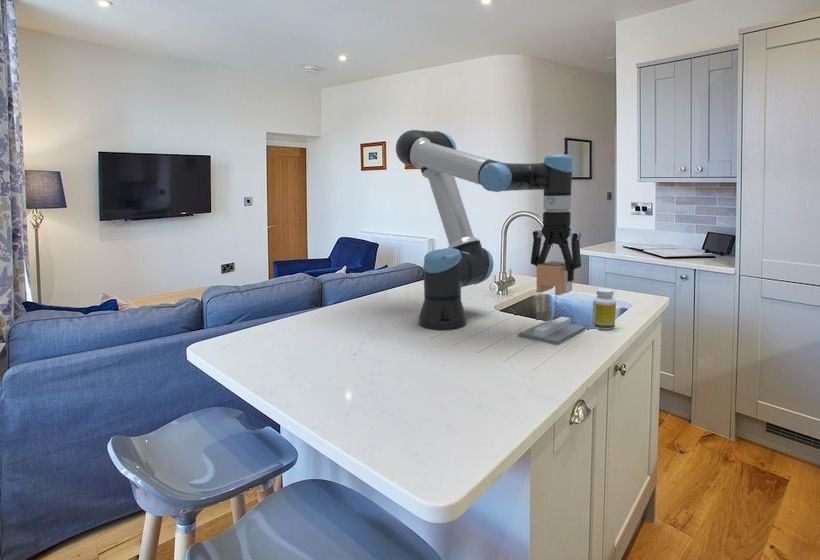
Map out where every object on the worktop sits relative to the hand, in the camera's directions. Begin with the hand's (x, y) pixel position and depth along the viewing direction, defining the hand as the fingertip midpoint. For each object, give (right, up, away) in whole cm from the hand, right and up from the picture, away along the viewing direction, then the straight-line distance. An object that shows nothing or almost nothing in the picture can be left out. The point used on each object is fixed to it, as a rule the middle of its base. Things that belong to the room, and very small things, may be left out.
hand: (554, 290), depth 146 cm
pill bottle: (+17, -12, +8) cm, 22 cm away
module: (0, 0, 0) cm, 0 cm away
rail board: (0, -13, +3) cm, 13 cm away
